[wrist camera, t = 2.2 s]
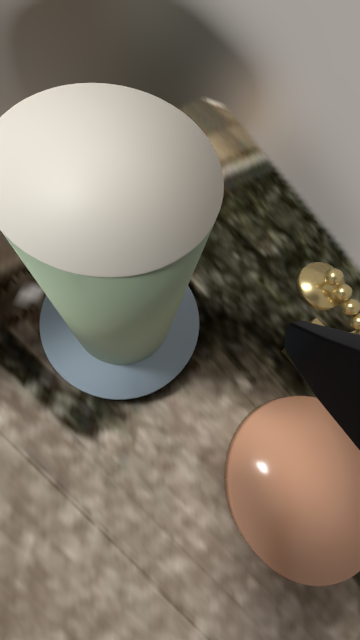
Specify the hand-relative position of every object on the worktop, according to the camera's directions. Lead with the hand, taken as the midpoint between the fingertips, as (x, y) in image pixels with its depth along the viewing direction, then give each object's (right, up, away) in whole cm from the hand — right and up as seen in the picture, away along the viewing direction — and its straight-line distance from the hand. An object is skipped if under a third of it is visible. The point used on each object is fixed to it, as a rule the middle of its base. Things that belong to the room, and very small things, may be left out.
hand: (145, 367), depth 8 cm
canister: (-3, +1, +11) cm, 11 cm away
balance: (+11, -1, +13) cm, 17 cm away
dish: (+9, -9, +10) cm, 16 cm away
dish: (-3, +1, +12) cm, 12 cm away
